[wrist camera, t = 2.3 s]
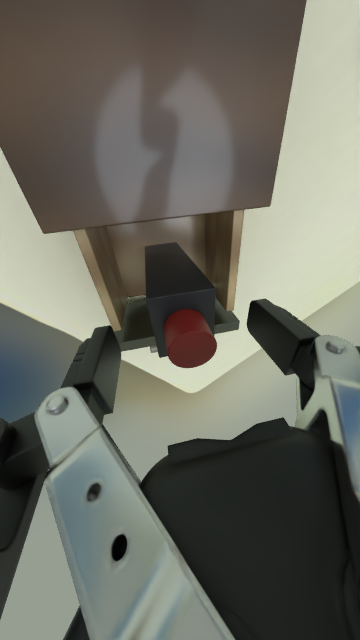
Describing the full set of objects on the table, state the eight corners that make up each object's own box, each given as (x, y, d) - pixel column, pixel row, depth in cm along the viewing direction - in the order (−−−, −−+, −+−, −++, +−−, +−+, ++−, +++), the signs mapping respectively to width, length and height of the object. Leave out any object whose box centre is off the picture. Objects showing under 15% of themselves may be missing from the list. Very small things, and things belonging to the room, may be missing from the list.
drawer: (212, 319, 28) (235, 356, 21) (130, 334, 27) (125, 378, 20) (216, 166, 17) (264, 142, 10) (77, 180, 16) (28, 161, 9)
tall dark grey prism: (144, 246, 19) (146, 322, 7) (176, 241, 19) (232, 307, 7) (151, 281, 21) (162, 385, 9) (179, 277, 22) (226, 372, 9)
